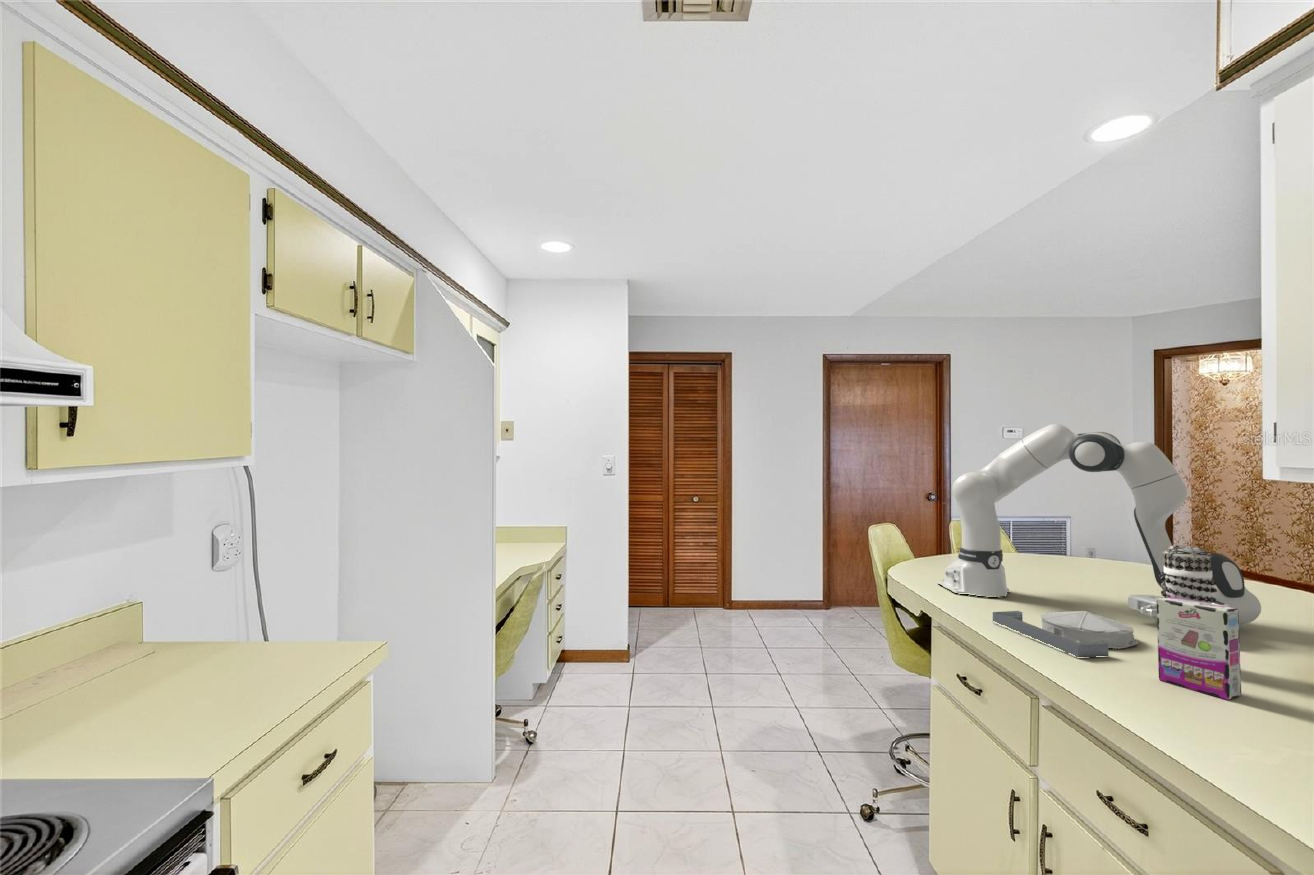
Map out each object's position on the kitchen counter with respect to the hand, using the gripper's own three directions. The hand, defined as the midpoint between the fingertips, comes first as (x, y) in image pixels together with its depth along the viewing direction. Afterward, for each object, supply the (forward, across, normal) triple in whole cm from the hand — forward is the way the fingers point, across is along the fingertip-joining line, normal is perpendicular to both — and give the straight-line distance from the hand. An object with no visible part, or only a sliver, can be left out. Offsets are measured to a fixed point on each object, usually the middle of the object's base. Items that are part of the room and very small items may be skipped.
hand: (1146, 612), depth 148 cm
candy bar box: (+22, +31, +6) cm, 38 cm away
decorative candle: (+11, +20, +6) cm, 23 cm away
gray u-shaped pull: (+27, 0, +5) cm, 28 cm away
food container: (+17, 0, +6) cm, 18 cm away
